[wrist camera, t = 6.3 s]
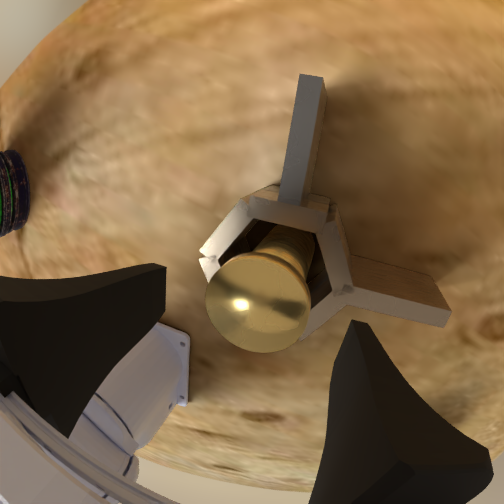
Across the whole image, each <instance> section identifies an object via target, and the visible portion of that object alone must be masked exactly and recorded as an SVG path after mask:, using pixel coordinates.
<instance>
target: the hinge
mask: <svg viewBox="0 0 504 504" xmlns="http://www.w3.org/2000/svg"><path fill="white" fill-rule="evenodd" d="M326 102H327V93H326V89H325V84H324V80H323V77H317V76H311V75H305V74H300V75H299V81H298V87H297V93H296V99H295V105H294V110H293V116H292V122H291V128H290V133H289V139H288V145H287V150H286V156H285V162H284V167H283V173H282V178H281V184H280V186H275V185H271V186H269V187H267V188H262V189H260V190H258V191H256V192H254V193H252V194H250V195H247V196H245V197H243V198H241V199H240V200H239V202H238V203H237V204H236V205H235V206H234V208H233V209H232V210H231V211H230V213H229V214H228V215H227V216H226V218H225V219H224V220H223V221H222V223H221V224H220V225H219V226H218V228H217V229H216V230H215V231H214V233H213V234H212V235H211V237H210V238H209V239H208V240H207V242H206V243H205V244H204V246H203V247H202V248H201V249H200V252H201V253H203V254H204V255H203V256H202V257H201V258H200V259H199V261H200V264H201V266H202V269H203V271H204V273H205V276H206V278H207V281H208V283H209V281H210V279H211V278H212V276H213V275H214V274H215V273H216V272H217V271H218V270H219V269H220V268H221V267H222V266H223V265H224V264H225V263H226V262H227V261H228V260H230V259H231V258H233V257H235V256H237V255H240V254H243V253H248V252H251V250H250V248H249V245H248V242H247V239H246V237H245V235H246V234H247V233H248V232H249V231H250V229H251V228H252V227H253V226H254V225H255V224H256V223H257V221H258V220H264V221H268V222H272V223H276V224H280V225H285V226H289V227H293V228H297V229H301V230H305V231H309V232H313V233H316V236H317V239H318V243H319V246H320V249H321V252H322V256H323V259H324V263H325V266H326V268H325V269H324V270H323V271H321V272H320V273H319V274H318V275H317V276H316V277H315V278H314V279H313V280H312V281H311V282H310V283H309V284H308V288H309V291H310V296H311V309H310V314H309V318H308V322H307V326H306V328H305V330H304V332H303V334H302V335H301V337H300V338H299V340H300V341H302V340H303V339H305V338H306V337H307V336H309V335H310V334H311V333H312V332H314V331H315V330H316V329H318V328H319V327H320V326H321V325H323V324H324V323H325V322H326V321H328V320H329V319H330V318H331V317H332V316H334V315H335V314H336V313H337V312H338V311H340V310H341V309H342V308H343V307H344V306H346V305H351V306H355V307H359V308H363V309H367V310H371V311H375V312H379V313H383V314H387V315H391V316H395V317H399V318H403V319H408V320H412V321H416V322H420V323H424V324H429V325H433V326H437V327H442V328H444V327H445V325H446V323H447V321H448V319H449V317H450V315H451V312H452V311H451V309H450V307H449V305H448V304H447V302H446V300H445V299H444V297H443V295H442V294H441V292H440V290H439V289H438V287H437V285H436V284H435V282H434V281H433V279H432V277H431V276H428V275H424V274H421V273H417V272H414V271H410V270H406V269H403V268H399V267H395V266H392V265H388V264H384V263H381V262H377V261H373V260H370V259H366V258H362V257H358V256H354V255H351V253H350V250H349V246H348V242H347V239H346V235H345V231H344V228H343V224H342V221H341V218H340V214H339V211H338V207H337V204H334V205H330V206H329V203H330V198H328V197H324V196H319V195H315V194H311V193H310V188H311V183H312V178H313V173H314V168H315V163H316V158H317V153H318V147H319V142H320V136H321V131H322V125H323V120H324V114H325V108H326Z"/></svg>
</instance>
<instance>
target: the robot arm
mask: <svg viewBox="0 0 504 504" xmlns="http://www.w3.org/2000/svg"><path fill="white" fill-rule="evenodd" d="M166 268H167V267H165V266H161V265H158V264H155V263H148V264H142V265H136V266H131V267H127V268H122V269H118V270H113V271H108V272H103V273H98V274H93V275H87V276H81V277H74V278H63V279H21V278H11V277H4V276H0V504H118V503H119V502H120V503H122V504H179V503H177V502H175V501H172V500H170V499H168V498H166V497H164V496H161V495H159V494H157V493H155V492H153V491H151V490H149V489H147V488H145V487H143V486H141V485H139V484H137V483H136V480H137V478H138V474H139V460H138V458H137V457H136V456H135V455H134V452H135V451H136V450H137V449H140V448H142V447H144V446H145V445H147V444H148V443H149V442H150V441H151V440H152V438H153V437H154V435H155V434H156V432H157V431H158V430H159V428H160V427H161V425H162V424H163V422H164V421H165V420H166V418H167V417H168V415H169V414H170V412H171V411H172V410H173V408H174V407H175V405H176V404H179V405H181V406H186V405H187V404H188V379H189V352H190V337H189V335H188V334H186V333H184V332H182V331H179V330H176V329H174V328H171V327H169V326H166V325H164V324H161V323H159V322H158V320H159V319H160V318H161V316H162V315H163V313H164V312H165V304H166ZM183 342H184V343H185V344H184V343H183ZM493 475H494V473H493V468H492V463H491V459H490V455H489V450H488V449H487V448H486V447H484V446H482V445H481V444H479V443H477V442H476V441H474V440H472V439H471V438H469V437H467V436H466V435H464V434H463V433H461V432H460V431H459V430H457V429H456V428H455V427H453V426H452V425H451V424H449V423H448V422H447V421H446V420H445V419H443V418H442V417H441V416H440V415H439V414H438V413H436V412H435V411H434V410H433V409H432V408H431V407H430V406H429V405H428V404H427V403H426V402H425V401H424V400H423V399H422V398H421V397H420V396H419V395H418V394H417V393H416V391H415V390H414V389H413V388H412V387H411V386H410V385H409V383H408V382H407V381H406V380H405V378H404V377H403V376H402V374H401V373H400V372H399V370H398V369H397V368H396V366H395V365H394V363H393V362H392V361H391V359H390V358H389V356H388V355H387V353H386V352H385V350H384V348H383V347H382V345H381V344H380V342H379V340H378V339H377V337H376V336H375V334H374V332H373V331H372V329H371V328H370V326H369V325H368V323H364V322H360V321H356V320H351V323H350V325H349V328H348V330H347V333H346V335H345V338H344V340H343V343H342V345H341V348H340V350H339V352H338V355H337V357H336V359H335V362H334V366H333V371H332V377H331V382H330V391H329V406H328V419H327V431H326V439H325V445H324V450H323V454H322V458H321V462H320V466H319V470H318V474H317V477H316V481H315V484H314V488H313V491H312V494H311V497H310V500H309V503H308V504H466V503H467V502H468V501H470V500H471V499H473V498H474V497H476V496H477V495H478V494H479V493H481V492H482V491H483V490H484V489H485V488H486V487H487V486H488V485H489V483H490V482H491V480H492V478H493Z"/></svg>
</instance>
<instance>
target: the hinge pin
mask: <svg viewBox="0 0 504 504" xmlns="http://www.w3.org/2000/svg"><path fill="white" fill-rule="evenodd" d="M314 250H315V243H314V239H313V236H312V234H311V233H310V232H309V231H305V230H301V229H297V228H293V227H289V226H285V225H280V224H278V225H277V226H275V227H274V228H273V229H272V230H271V231H270V232H269V234H268V235H267V236H266V237H265V238H264V239H263V240H262V241H261V243H260V244H259V245H258V246H257V247H256V248H255V249H254V250H253V251H252V252H248V253H243V254H240V255H237V256H235V257H233V258H231V259H230V260H228V261H227V262H226V263H225V264H224V265H223V266H222V267H221V268H220V269H219V270H218V271H217V272H216V273H215V274H214V275H213V276H212V278H211V279H210V281H209V283H208V286H207V289H206V294H205V304H206V309H207V313H208V316H209V318H210V320H211V322H212V324H213V325H214V327H215V328H216V329H217V331H218V332H219V333H220V334H221V335H222V336H223V337H224V338H225V339H227V340H228V341H229V342H231V343H232V344H234V345H236V346H238V347H240V348H242V349H245V350H248V351H252V352H257V353H271V352H277V351H280V350H283V349H285V348H288V347H289V346H291V345H292V344H294V343H295V342H296V341H297V340H298V339H299V338H300V337H301V335H302V334H303V332H304V330H305V328H306V326H307V322H308V318H309V314H310V309H311V296H310V291H309V288H308V285H307V283H306V279H307V276H308V272H309V269H310V265H311V261H312V258H313V254H314Z"/></svg>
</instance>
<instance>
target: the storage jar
mask: <svg viewBox="0 0 504 504" xmlns="http://www.w3.org/2000/svg"><path fill="white" fill-rule="evenodd" d="M29 208H30V187H29V179H28V174H27V170H26V166H25V164H24V161H23V159H22V157H21V155H20V154H19V153H18V152H17V151H15V150H7V151H5V152H2V151H0V237H2V236H4V235H6V234H7V233H10V232H11V231H12V230H18V229H20V228H22V227H23V226H24V225H25V223H26V221H27V218H28V214H29Z"/></svg>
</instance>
